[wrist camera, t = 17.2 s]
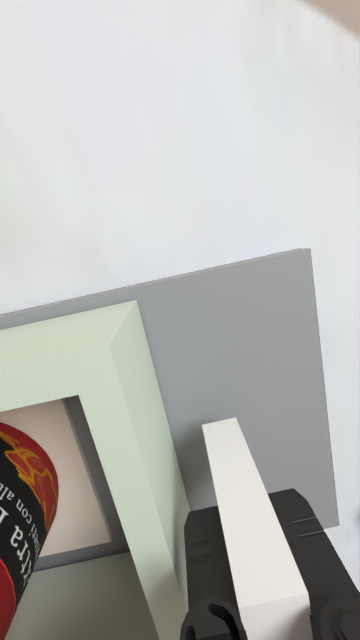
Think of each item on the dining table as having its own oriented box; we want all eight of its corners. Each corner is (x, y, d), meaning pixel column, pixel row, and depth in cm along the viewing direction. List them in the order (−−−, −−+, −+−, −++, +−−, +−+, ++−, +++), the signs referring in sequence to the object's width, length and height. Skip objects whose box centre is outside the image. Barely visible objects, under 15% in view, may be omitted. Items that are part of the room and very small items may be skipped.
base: (-38, 584, 17) (-92, 672, 14) (-163, 350, 14) (-280, 386, 10) (327, 506, 17) (370, 575, 13) (298, 248, 13) (345, 248, 10)
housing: (19, 590, 16) (-67, 790, 10) (-94, 350, 12) (-325, 440, 7) (201, 551, 16) (220, 730, 10) (136, 299, 12) (108, 345, 6)
